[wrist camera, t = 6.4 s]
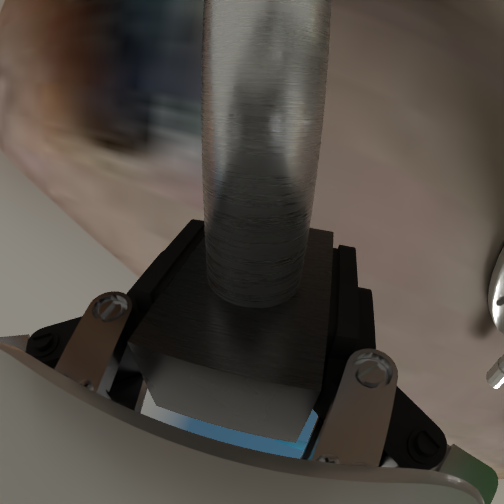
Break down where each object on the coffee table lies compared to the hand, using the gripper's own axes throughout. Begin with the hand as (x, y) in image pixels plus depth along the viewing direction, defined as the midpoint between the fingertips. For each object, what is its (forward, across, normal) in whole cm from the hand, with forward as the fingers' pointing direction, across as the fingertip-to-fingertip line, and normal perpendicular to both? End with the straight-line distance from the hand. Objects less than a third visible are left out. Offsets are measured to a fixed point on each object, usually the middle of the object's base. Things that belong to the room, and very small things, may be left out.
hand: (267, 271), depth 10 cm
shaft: (+1, 0, -9) cm, 9 cm away
